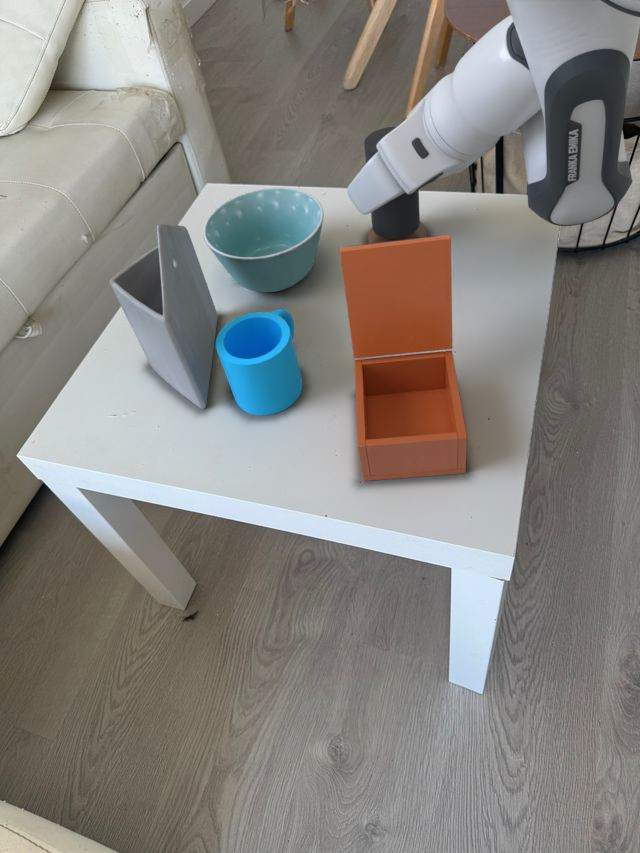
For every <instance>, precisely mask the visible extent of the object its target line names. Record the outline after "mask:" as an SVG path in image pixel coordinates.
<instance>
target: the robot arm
mask: <svg viewBox="0 0 640 853" xmlns="http://www.w3.org/2000/svg"><path fill="white" fill-rule="evenodd" d="M505 1H506V5H507V7H508V11H509V12H510V13H509V15H508V16H506V17H505V18H504V19H502V20H501V21H500V22H498V23H497V24H495V25H494V26H493V27H492V28H491V29H489V30H488V31H487V32H486V33H485V34H484V35H483V36H482V37H481V38H479V39H478V40H477V41H476V42H474V44H473V45H472V46H471V47H470V48H469V49H468V50H467V51H466V52H465V53H464V54H463V55H462V57H461V58H460V59H459V60H458V62H457V64H456V66H455V68H454V70H453V72H451V73H448V74H447V75H445V76H444V77H442V78H441V79H440V80H439V81H438V82H437V83H436V84H434V86H433V87H432V88H431V89H430V90H429V91H428V92H427V93H426V94H425V96H423V97H422V99H420V101H419V102H418V103H417V104H416V105H415V106H414V107H413V108H412V109H411V110H410V112H408V114H407V116H406V117H405V118H404V119H403V120H402V121H401V122H400V123H398V124H397V125H396V126H394V127H395V128H394V129H392V130H391V131H390V132H389V133H388V134H387V135H386V136H384V137H383V138H382V139H381V140H380V141H379V142H378V144H377V145H376V148H377V150H378V152H377V153H376V154H375V155H374V156H373V157H372V158H371V159H370V160H369V161H368V162H367V163H366V162H365V164H364V165H363V167H362V168H361V169H360V170H359V171H358V172H357V174H356V175H355V177H354V178H353V180H351V182H350V183H349V185H348V186H347V189H346V193H347V196H348V198H349V200H350V201H351V202H352V204H353V206H354V207H355V208H356V210H357V211H358V212H359V213H360V214H361V215H363V216H366V215H369V214H371V212H373V211H375V210H376V209H378V208H380V207H382V206H383V205H385V204H387V203H388V202H390V201H392V200H393V199H395V198H397V197H398V196H400V195H402V194H403V193H405V192H406V193H407V194H412V193H413V192H415V191H416V190H417V191H418V190H419V191H420V190H421V189H422V188H424V187H426V186H427V185H429V184H431V183H433V182H435V181H437V180H440V179H443V178H446V177H450V176H451V175H456V174H459V173H461V172H464V171H465V170H466V169H467V168H468V167H470V166H471V165H473V164H474V163H475V162H476V161H478V160H479V159H481V157H483V156H484V155H485V154H487V153H489V151H491V150H492V149H493V148H494V147H495V146H496V145H497V144H498V142H499V140H500V139H501V138H502V137H503V136H506V135H507V136H508V135H509V134H511V133H513V132H515V131H516V130H517V131H520V132H519V133H520V138H521V145H522V153H523V159H524V167H525V174H526V181H527V185H526V190H527V191H526V192H527V193H526V194H527V207H528V208H529V209H530V210H531V211H532V212H533V213H534V214H536V215H537V216H538V217H539V218H541V219H542V220H544V221H546V222H548V224H549V223H550V224H551V225H554V226H559V227H572V226H579V225H583V224H588V223H590V222H591V223H592V222H594V221H596V220H598V219H601V218H603V217H605V216H606V215H608V214H609V213H611V212H612V211H614V209H615V208H616V207H617V206H618V205H619V203H620V202H621V201H622V199H623V198H624V197H625V195H626V194H627V192H628V191H629V189H630V188H631V185H632V184H633V178H632V177H633V176H632V172H631V167H630V162H629V160H628V159H627V158H628V157H627V150H626V144H625V138H624V131H623V126H624V119H625V112H626V102H627V96H628V95H627V94H628V89H629V80H630V75H631V74H630V73H631V69H632V66H633V62H634V57H635V52H636V48H637V43H638V38H639V33H640V0H505Z"/></svg>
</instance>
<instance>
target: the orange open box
mask: <svg viewBox="0 0 640 853" xmlns="http://www.w3.org/2000/svg"><path fill="white" fill-rule="evenodd" d="M457 377H458V376H457V371H456V365H455V359H454V353H453V350H452V349H449V350H439V351H428V352H418V353H408V354H398V355H388V356H378V357H367V358H358V359H354V384H355V387H354V388H355V409H356V410H355V412H356V433H357V434H356V439H357V441H356V442H357V451H358V457H359V462H360V468H361V474H362V475H361V476H362V481H363V482H371V481H383V480H397V479H407V478H409V479H410V478H422V477H433V476H447V475H458V474H459V475H460V474H466V472H467V471H466V469H467V465H466V464H467V448H468V447H467V445H468V444H467V443H468V437H467V436H468V435H467V430H466V424H465V417H464V412H463V407H462V406H463V405H462V400H461V394H460V389H459V388H460V387H459V384H458V383H459V382H458V378H457Z"/></svg>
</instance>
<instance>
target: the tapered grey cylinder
mask: <svg viewBox="0 0 640 853" xmlns="http://www.w3.org/2000/svg"><path fill="white" fill-rule="evenodd" d="M395 127H396V126H388V127H383V128H380V129H377V130H375V131H372V132H371V133H370V134H368V135H367V136H366V137H365V139H364V142H363V145H364V155H365V156H364V157H365V164H366V163H367V162H368V161H369V160H370V159H371V158H372V157H373V156H374V155H375V154H376V153H377V152H378V150H377V148H376V145H377V144H378V142H379V141H380V140H381V139H382V138H383V137H384V136H386V135H387V134H388V133H389V132H390V131H391V130H392V129H394V128H395ZM420 215H421V214H420V189H419V190H418V191H417V190H416V191H415V192H413V193H412V194H407V193H406V192H405V193H403V194H402V195H400V196H398V197H397V198H395V199H393V200H392V201H390V202H388V203H387V204H385V205H383V206H382V207H380V208H378V209H376V210H375V211H373V212H371V213H370V217H371V218H370V219H371V228H373V231H374V232H375V233H376V234H377V235H378V236H380V237H383V238H388V239H398V238H403V237H406V236H409V235H411V234H412V233H414V232H415V231H416V230H417V229H418V227H419V225H420V222H421V218H420Z"/></svg>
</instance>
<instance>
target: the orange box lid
mask: <svg viewBox="0 0 640 853" xmlns="http://www.w3.org/2000/svg"><path fill="white" fill-rule="evenodd" d="M339 256H340V263H341V272H342V280H343V286H344V293H345V302H346V308H347V317H348V323H349V331H350V338H351V346H352V354H353V359H354V360H356V359H366V358H376V357H386V356H396V355H406V354H417V353H427V352H437V351H447V350H452V349H454V348H453V346H454V345H453V293H452V292H453V290H452V289H453V283H452V282H453V281H452V280H453V279H452V278H453V277H452V237H451V235H450V234H446V235H445V234H444V235H438V236H437V235H436V236H429V237H427V238H411V239H403V240H394V241H386V242H378V243H367V244H362V245H353V246H345V247H340V248H339Z"/></svg>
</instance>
